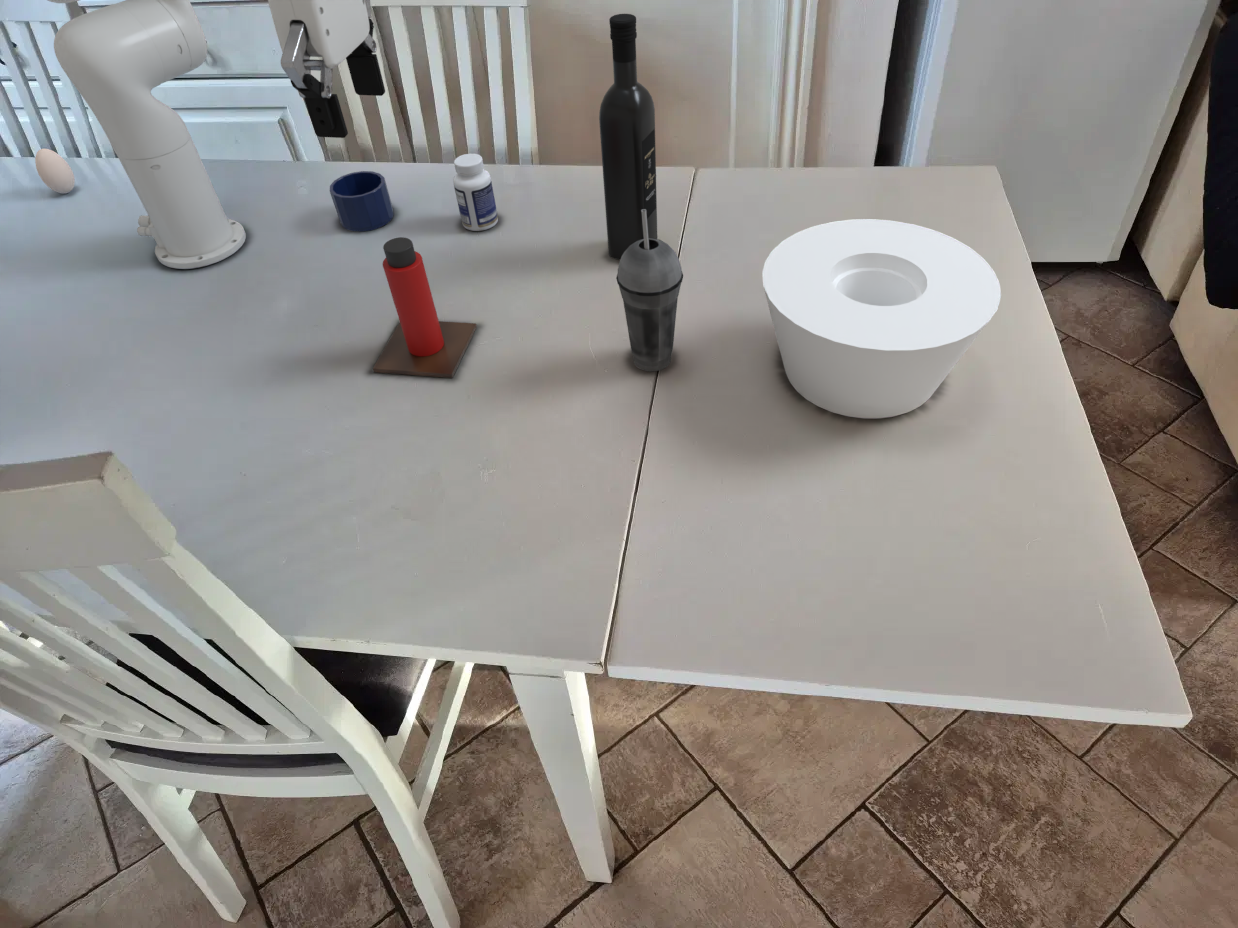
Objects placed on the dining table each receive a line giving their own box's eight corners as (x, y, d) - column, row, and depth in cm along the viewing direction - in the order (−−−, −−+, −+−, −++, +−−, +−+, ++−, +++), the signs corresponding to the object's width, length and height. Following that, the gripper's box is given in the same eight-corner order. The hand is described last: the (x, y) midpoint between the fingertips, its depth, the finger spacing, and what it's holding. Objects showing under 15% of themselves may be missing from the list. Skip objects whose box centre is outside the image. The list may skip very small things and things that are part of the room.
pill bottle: (501, 213, 122) (491, 150, 115) (494, 232, 119) (482, 168, 111) (467, 213, 123) (454, 151, 116) (458, 232, 119) (444, 168, 112)
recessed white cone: (961, 461, 82) (994, 370, 74) (731, 415, 89) (737, 326, 80) (977, 324, 98) (1006, 235, 89) (779, 293, 104) (788, 207, 96)
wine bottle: (660, 245, 114) (655, 11, 92) (643, 266, 110) (635, 28, 89) (623, 238, 116) (610, 7, 94) (606, 258, 112) (588, 23, 90)
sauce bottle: (403, 355, 99) (371, 254, 88) (415, 333, 101) (386, 233, 91) (437, 358, 98) (409, 256, 88) (448, 335, 101) (423, 235, 91)
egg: (86, 191, 135) (62, 148, 129) (58, 202, 132) (32, 159, 127) (75, 182, 137) (51, 140, 132) (47, 193, 135) (21, 150, 130)
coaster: (373, 372, 98) (372, 368, 97) (402, 322, 104) (401, 318, 104) (452, 378, 96) (451, 374, 96) (477, 327, 103) (476, 323, 102)
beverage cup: (690, 345, 98) (691, 191, 83) (673, 384, 93) (671, 227, 79) (632, 336, 100) (624, 183, 85) (613, 373, 95) (601, 218, 81)
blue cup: (332, 230, 121) (320, 196, 117) (353, 203, 127) (342, 170, 123) (382, 232, 120) (372, 198, 116) (401, 205, 126) (392, 172, 122)
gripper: (300, -108, 76) (352, 79, 89) (205, -54, 65) (279, 152, 77) (375, -109, 75) (416, 81, 88) (292, -54, 64) (353, 156, 76)
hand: (352, 114), depth 82 cm, fingers open, 9 cm apart
